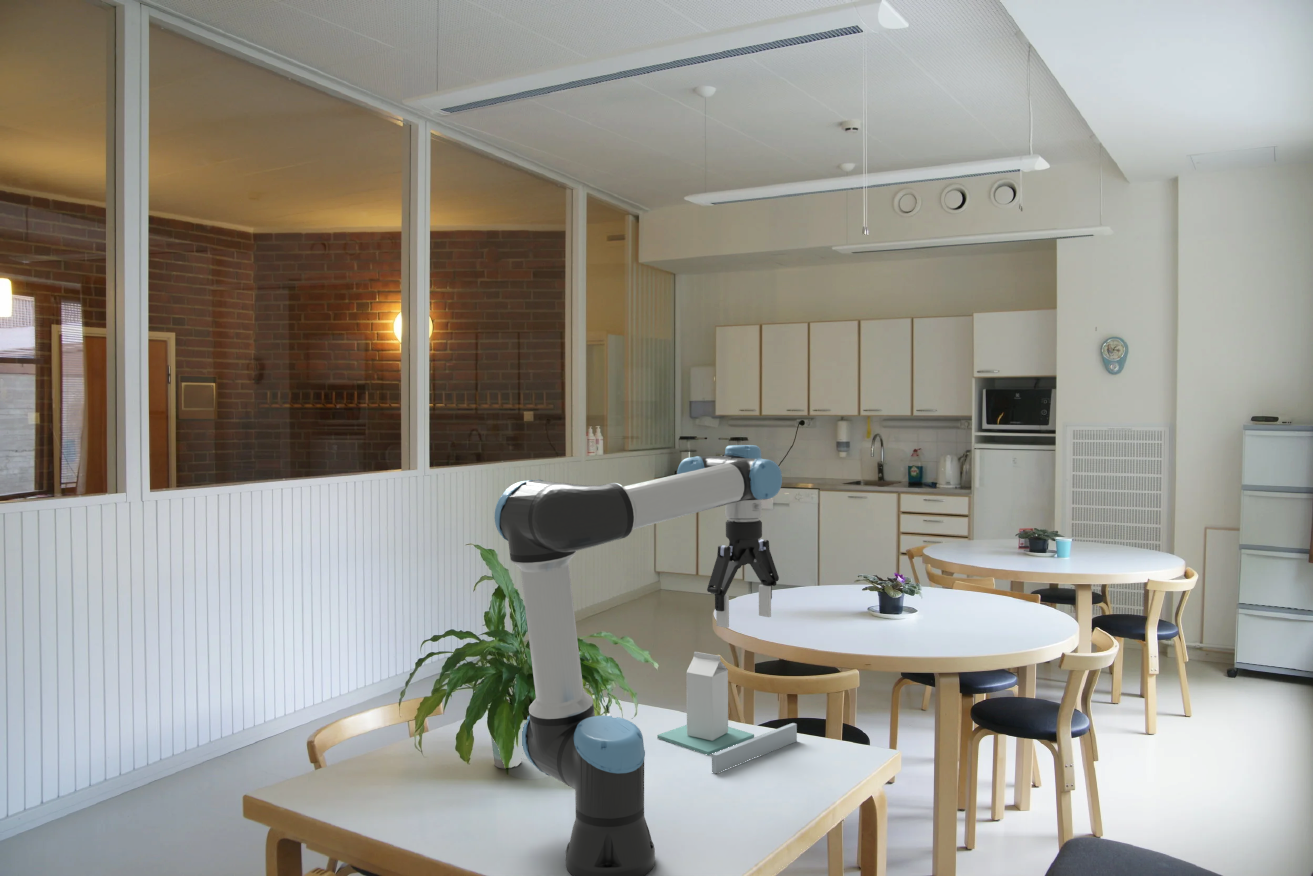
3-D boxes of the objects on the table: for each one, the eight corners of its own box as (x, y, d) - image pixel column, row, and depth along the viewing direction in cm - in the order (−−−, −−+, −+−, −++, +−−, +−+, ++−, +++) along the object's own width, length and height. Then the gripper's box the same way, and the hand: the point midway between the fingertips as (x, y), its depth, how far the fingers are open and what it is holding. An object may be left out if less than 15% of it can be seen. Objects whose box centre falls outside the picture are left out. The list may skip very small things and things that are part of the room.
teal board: (708, 755, 211) (708, 751, 211) (657, 738, 222) (657, 735, 222) (754, 737, 222) (754, 734, 222) (703, 722, 234) (703, 719, 234)
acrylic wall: (716, 774, 200) (716, 755, 200) (711, 772, 201) (711, 754, 201) (796, 741, 220) (796, 724, 220) (792, 740, 221) (792, 723, 220)
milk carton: (712, 741, 217) (712, 659, 217) (686, 736, 222) (686, 655, 221) (728, 733, 223) (727, 652, 223) (702, 727, 227) (702, 648, 227)
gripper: (717, 526, 185) (717, 634, 186) (794, 515, 203) (795, 614, 204) (689, 523, 191) (690, 628, 191) (767, 513, 208) (767, 609, 209)
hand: (744, 621), depth 197 cm, fingers open, 13 cm apart
